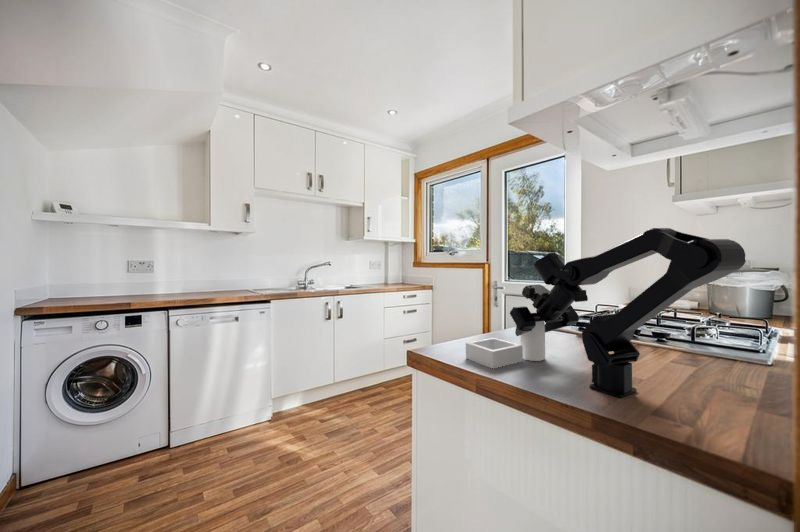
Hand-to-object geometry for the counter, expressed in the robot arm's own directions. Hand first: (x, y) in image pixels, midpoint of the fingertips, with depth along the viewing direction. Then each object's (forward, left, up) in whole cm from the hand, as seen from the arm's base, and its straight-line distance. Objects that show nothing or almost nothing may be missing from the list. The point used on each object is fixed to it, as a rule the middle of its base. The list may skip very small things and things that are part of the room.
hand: (529, 333), depth 95 cm
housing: (+4, +10, -7) cm, 13 cm away
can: (-1, 0, -7) cm, 7 cm away
